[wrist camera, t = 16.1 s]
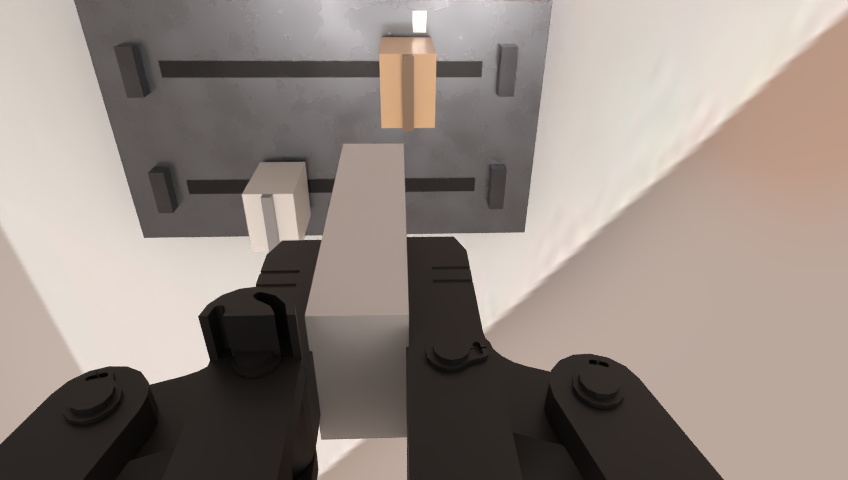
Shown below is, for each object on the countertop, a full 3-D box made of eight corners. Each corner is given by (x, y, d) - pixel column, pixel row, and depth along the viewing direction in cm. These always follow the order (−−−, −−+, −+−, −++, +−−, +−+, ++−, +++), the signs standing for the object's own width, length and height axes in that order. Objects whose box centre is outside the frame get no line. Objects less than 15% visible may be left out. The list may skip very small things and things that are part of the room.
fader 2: (381, 37, 32) (378, 56, 28) (430, 37, 32) (437, 56, 28) (383, 102, 34) (381, 130, 30) (429, 102, 34) (435, 130, 30)
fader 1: (260, 162, 36) (239, 198, 31) (305, 161, 36) (291, 197, 31) (268, 214, 38) (250, 256, 33) (310, 214, 38) (298, 255, 33)
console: (90, -6, 33) (64, 0, 30) (544, -3, 34) (556, 2, 31) (154, 224, 41) (138, 244, 38) (519, 219, 42) (527, 238, 39)
